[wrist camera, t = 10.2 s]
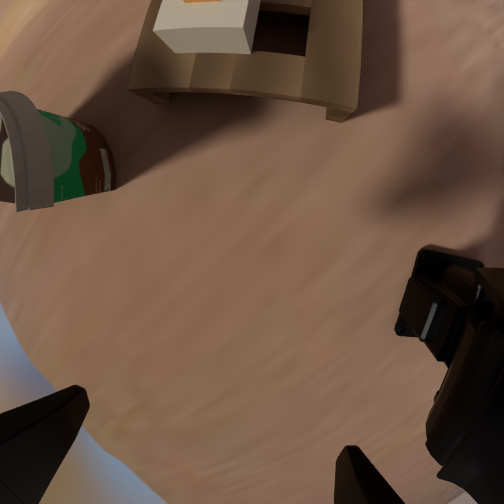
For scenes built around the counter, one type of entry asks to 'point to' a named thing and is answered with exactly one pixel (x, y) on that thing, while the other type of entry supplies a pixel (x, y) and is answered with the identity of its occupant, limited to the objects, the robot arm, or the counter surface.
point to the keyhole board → (263, 62)
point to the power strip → (208, 25)
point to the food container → (49, 156)
